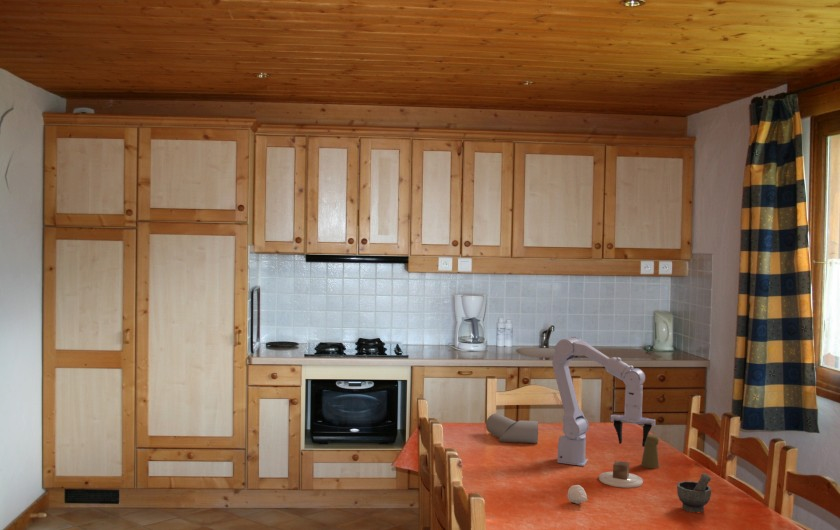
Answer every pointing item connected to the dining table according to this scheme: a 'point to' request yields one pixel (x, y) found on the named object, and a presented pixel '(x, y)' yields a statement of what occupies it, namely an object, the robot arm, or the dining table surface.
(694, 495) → the mortar and pestle
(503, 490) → the dining table surface
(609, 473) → the plate
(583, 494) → the garlic bulb
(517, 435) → the bent grey cylinder
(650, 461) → the pepper mill
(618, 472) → the walnut cube
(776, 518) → the dining table surface
